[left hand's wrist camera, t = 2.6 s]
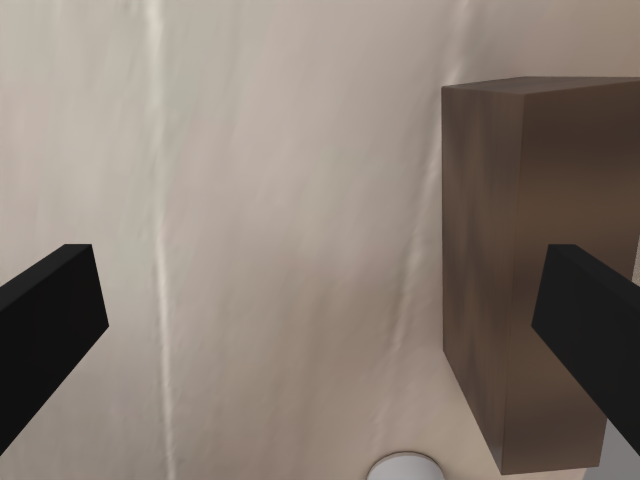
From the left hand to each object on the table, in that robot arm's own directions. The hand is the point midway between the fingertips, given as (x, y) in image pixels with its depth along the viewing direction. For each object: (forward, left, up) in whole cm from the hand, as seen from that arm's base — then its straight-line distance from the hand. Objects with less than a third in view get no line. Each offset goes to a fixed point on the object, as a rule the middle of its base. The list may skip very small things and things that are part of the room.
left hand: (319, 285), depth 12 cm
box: (0, -15, -21) cm, 26 cm away
